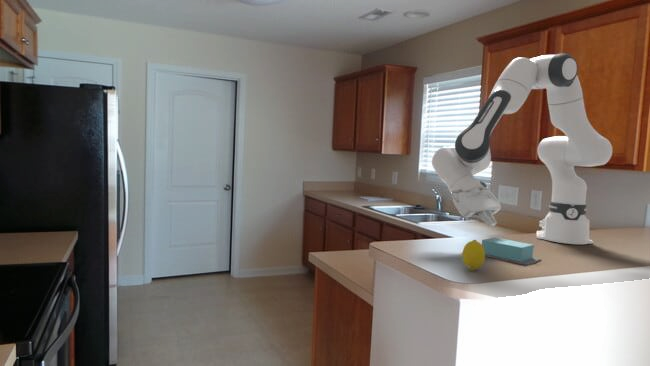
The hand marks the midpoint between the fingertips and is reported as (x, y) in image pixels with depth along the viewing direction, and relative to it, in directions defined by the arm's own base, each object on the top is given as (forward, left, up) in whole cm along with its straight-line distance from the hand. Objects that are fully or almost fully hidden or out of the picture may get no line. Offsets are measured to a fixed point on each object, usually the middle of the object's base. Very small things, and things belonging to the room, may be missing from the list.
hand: (493, 225), depth 135 cm
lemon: (+24, -8, -9) cm, 27 cm away
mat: (+4, +5, -9) cm, 11 cm away
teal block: (-1, -1, -6) cm, 6 cm away
